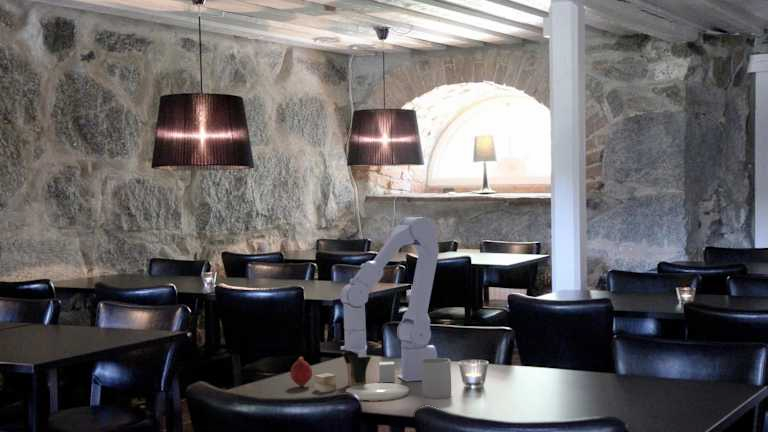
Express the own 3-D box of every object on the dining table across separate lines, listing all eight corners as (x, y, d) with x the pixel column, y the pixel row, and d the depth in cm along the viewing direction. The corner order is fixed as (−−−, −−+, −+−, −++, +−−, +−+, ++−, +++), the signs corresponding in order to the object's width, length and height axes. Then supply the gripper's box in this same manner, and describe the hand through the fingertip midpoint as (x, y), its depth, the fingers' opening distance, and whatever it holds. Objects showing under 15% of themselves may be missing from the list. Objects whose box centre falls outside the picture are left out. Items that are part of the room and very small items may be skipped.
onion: (309, 389, 260) (308, 358, 260) (288, 388, 261) (287, 358, 261) (315, 384, 266) (313, 355, 266) (294, 384, 267) (293, 355, 267)
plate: (398, 385, 260) (398, 381, 260) (416, 397, 245) (416, 392, 245) (339, 391, 256) (339, 386, 256) (354, 403, 241) (354, 398, 241)
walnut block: (362, 383, 265) (361, 361, 265) (366, 386, 261) (365, 363, 261) (347, 385, 264) (347, 362, 264) (351, 387, 260) (350, 365, 260)
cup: (417, 398, 244) (416, 362, 244) (436, 390, 253) (435, 355, 253) (443, 400, 241) (441, 364, 240) (461, 392, 249) (460, 357, 249)
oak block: (328, 388, 261) (327, 373, 261) (336, 390, 258) (335, 375, 258) (315, 390, 259) (314, 375, 259) (323, 392, 255) (322, 377, 255)
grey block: (394, 379, 269) (393, 361, 269) (395, 382, 265) (394, 364, 265) (379, 380, 269) (379, 362, 269) (380, 383, 265) (379, 364, 265)
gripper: (334, 327, 268) (336, 376, 268) (346, 334, 254) (348, 386, 254) (359, 325, 270) (361, 374, 270) (373, 332, 256) (375, 384, 256)
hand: (356, 380), depth 263 cm, fingers open, 6 cm apart
